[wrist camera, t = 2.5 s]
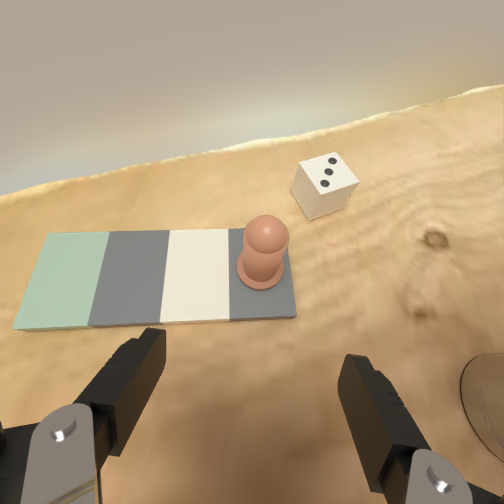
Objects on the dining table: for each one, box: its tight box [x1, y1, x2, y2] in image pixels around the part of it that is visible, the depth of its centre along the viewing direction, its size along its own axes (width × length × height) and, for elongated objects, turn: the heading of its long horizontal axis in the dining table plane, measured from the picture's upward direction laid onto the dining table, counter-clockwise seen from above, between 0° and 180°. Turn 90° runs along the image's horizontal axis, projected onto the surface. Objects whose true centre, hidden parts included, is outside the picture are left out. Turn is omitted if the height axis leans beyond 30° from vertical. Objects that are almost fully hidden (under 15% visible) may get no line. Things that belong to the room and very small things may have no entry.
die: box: [291, 152, 359, 221], centre depth 29 cm, size 5×5×5 cm
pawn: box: [237, 215, 289, 291], centre depth 21 cm, size 5×5×9 cm
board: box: [12, 228, 297, 331], centre depth 25 cm, size 26×10×2 cm, turn 93°
